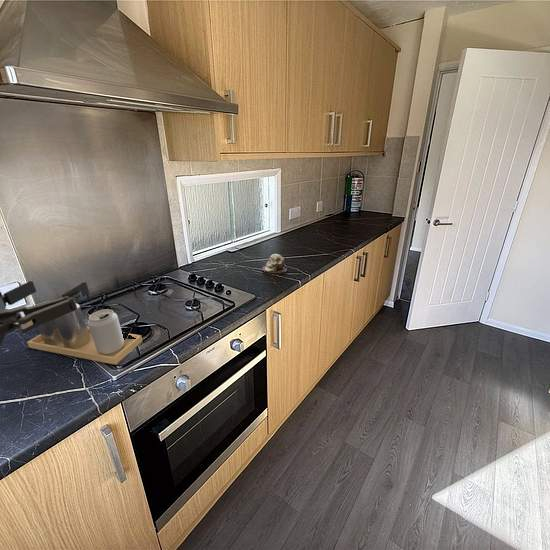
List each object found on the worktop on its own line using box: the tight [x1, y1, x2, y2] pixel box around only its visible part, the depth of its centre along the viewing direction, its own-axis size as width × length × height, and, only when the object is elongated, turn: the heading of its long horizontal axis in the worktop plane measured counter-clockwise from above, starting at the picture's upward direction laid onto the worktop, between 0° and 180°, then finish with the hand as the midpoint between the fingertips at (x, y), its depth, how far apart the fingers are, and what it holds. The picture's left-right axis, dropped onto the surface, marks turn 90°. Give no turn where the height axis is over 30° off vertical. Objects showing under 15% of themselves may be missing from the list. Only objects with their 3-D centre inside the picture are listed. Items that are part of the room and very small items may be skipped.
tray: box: [26, 326, 143, 366], centre depth 90 cm, size 32×11×2 cm, turn 74°
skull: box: [261, 253, 288, 275], centre depth 142 cm, size 12×10×10 cm
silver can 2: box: [54, 302, 90, 349], centre depth 89 cm, size 7×7×12 cm
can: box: [87, 308, 125, 355], centre depth 85 cm, size 8×8×12 cm
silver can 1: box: [36, 300, 62, 345], centre depth 91 cm, size 7×7×12 cm
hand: (59, 286), depth 69 cm, fingers open, 13 cm apart
